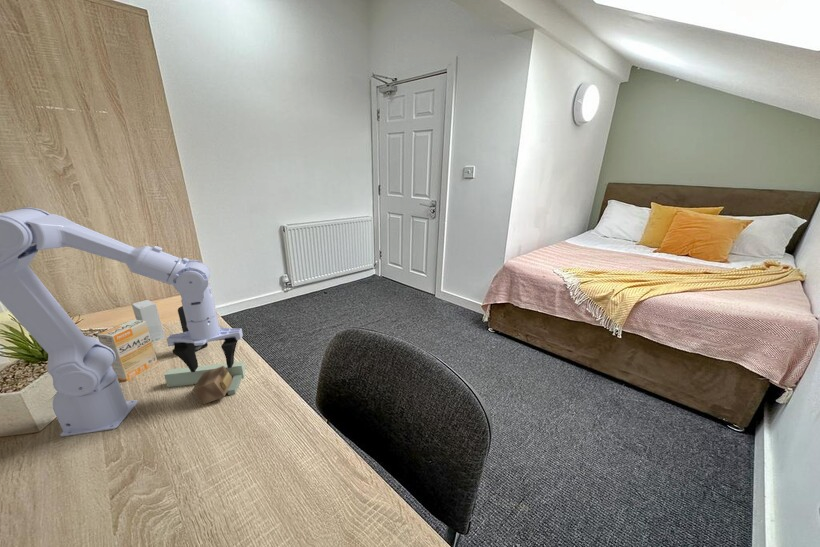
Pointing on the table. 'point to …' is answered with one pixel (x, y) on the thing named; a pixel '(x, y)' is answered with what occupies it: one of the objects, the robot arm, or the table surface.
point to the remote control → (185, 327)
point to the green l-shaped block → (187, 377)
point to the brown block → (213, 385)
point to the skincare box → (149, 318)
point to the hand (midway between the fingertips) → (213, 367)
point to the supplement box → (130, 348)
